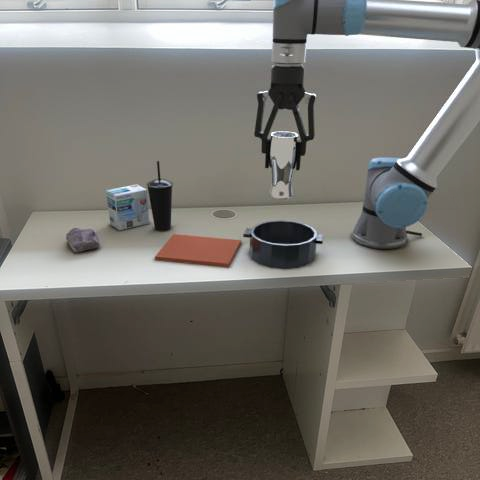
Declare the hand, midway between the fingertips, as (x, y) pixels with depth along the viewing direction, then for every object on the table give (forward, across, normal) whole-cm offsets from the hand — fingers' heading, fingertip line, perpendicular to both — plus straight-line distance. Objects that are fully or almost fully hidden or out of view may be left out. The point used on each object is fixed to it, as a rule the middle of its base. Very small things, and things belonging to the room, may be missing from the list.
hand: (282, 167), depth 125 cm
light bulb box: (+24, -48, +12) cm, 55 cm away
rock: (+24, -54, -7) cm, 59 cm away
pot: (+23, +1, 0) cm, 23 cm away
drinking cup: (+24, -37, +11) cm, 45 cm away
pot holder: (+23, -21, -3) cm, 32 cm away
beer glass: (+7, 0, 0) cm, 7 cm away
